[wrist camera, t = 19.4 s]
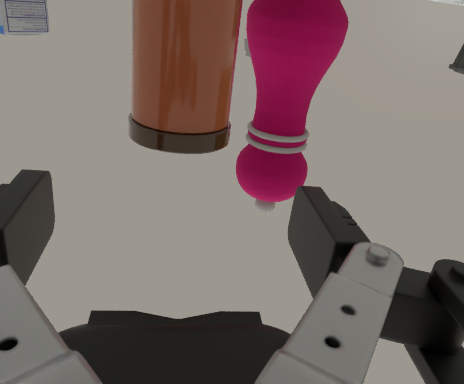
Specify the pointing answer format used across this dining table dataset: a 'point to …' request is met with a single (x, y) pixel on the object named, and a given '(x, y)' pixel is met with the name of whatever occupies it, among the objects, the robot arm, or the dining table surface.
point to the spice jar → (183, 73)
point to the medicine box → (24, 17)
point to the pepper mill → (285, 90)
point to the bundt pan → (459, 62)
